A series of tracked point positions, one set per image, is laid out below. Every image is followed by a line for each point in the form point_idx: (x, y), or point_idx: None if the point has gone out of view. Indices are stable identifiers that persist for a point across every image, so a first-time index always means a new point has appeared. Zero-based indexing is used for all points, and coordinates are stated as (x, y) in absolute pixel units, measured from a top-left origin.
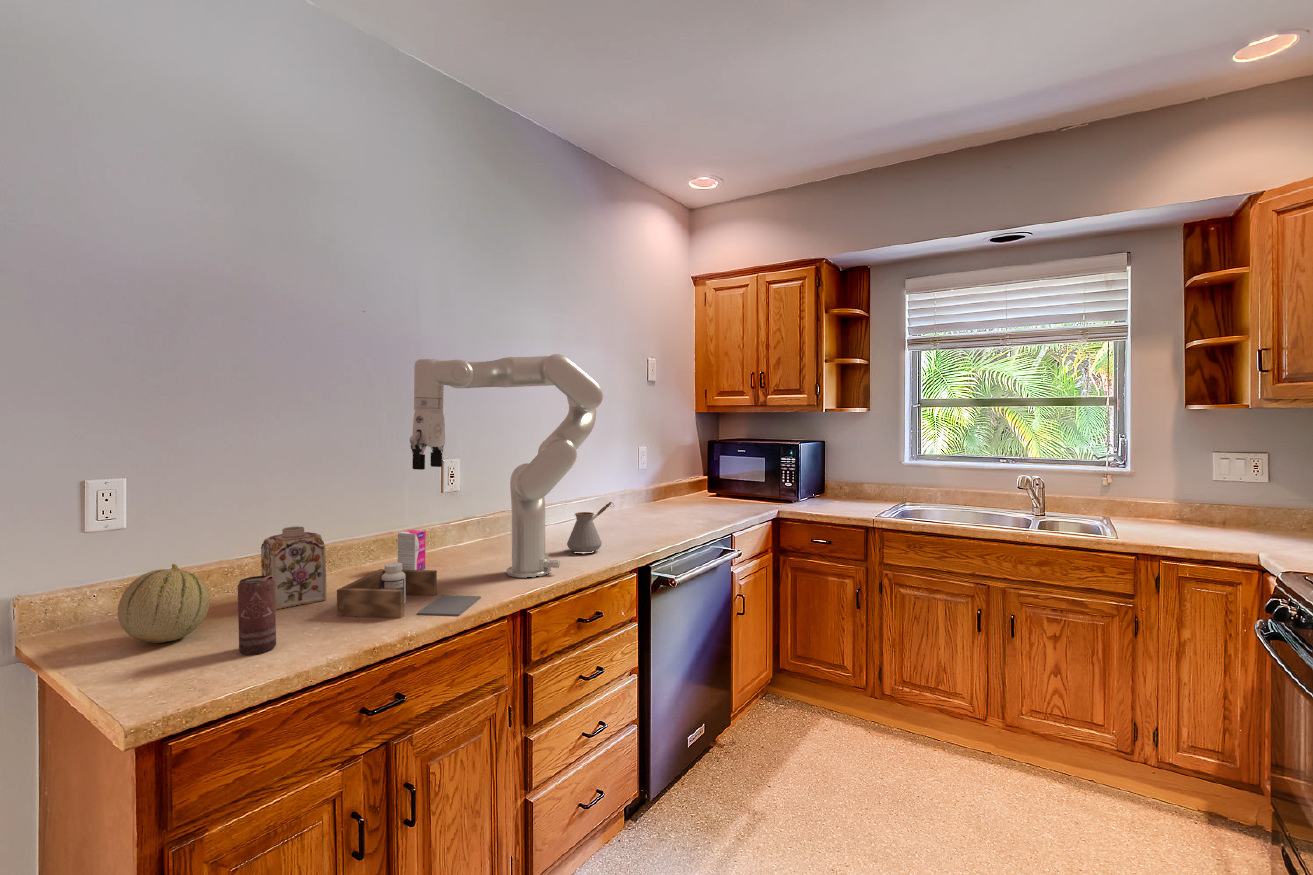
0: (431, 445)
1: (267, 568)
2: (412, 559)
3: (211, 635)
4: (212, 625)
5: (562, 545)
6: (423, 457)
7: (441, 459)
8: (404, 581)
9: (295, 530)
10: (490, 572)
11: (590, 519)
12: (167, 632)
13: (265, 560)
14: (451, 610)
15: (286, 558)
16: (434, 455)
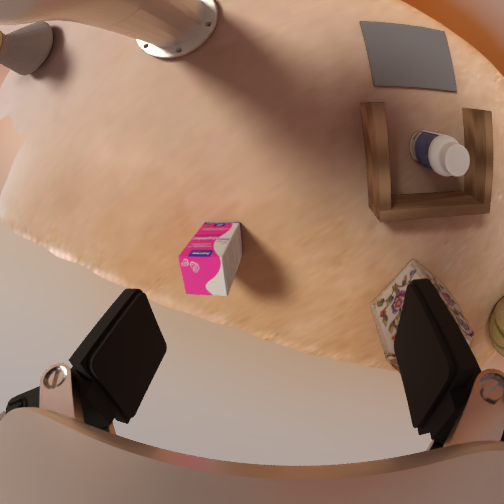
0: (471, 457)
1: None
2: (235, 236)
3: (501, 282)
4: (478, 303)
5: (20, 106)
6: (464, 347)
7: (109, 321)
8: (440, 133)
9: None
10: (191, 85)
11: (4, 34)
12: None
13: None
14: (436, 44)
15: (465, 323)
16: (126, 386)
